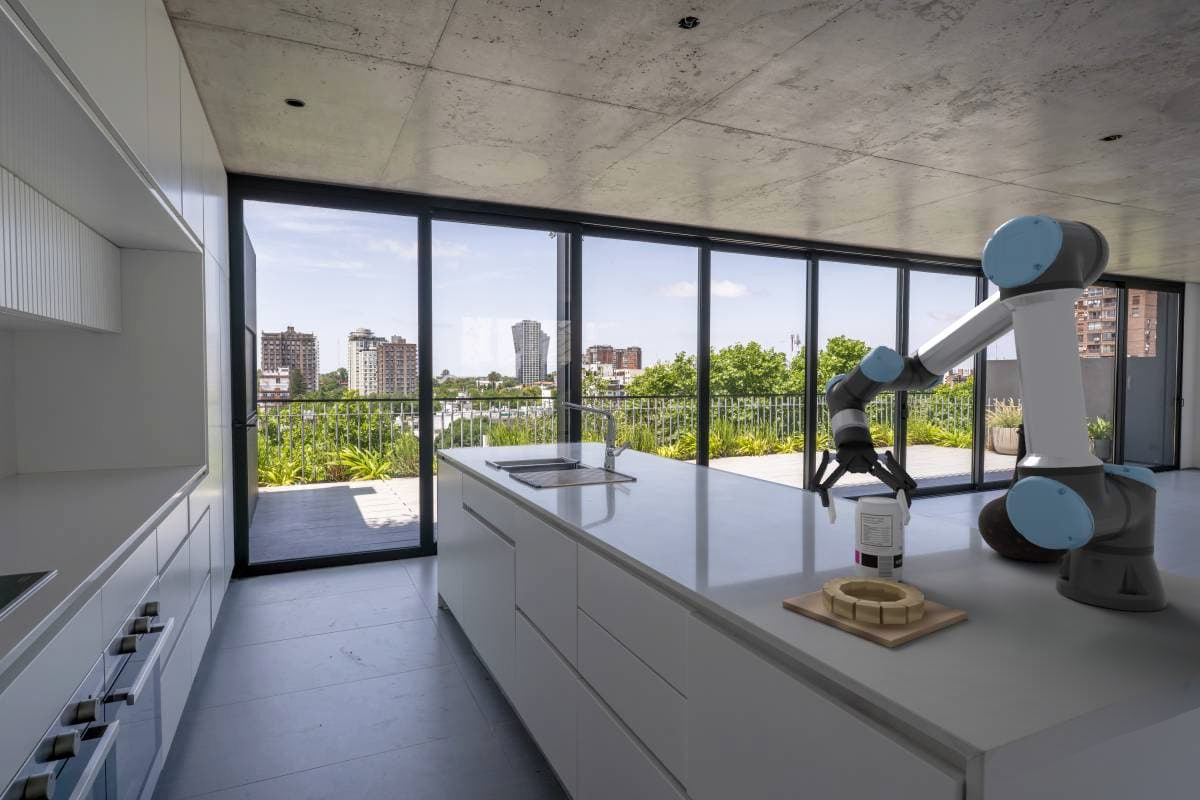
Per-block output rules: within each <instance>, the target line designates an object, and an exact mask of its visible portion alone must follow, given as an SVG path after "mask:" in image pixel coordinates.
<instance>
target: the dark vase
mask: <svg viewBox="0 0 1200 800" xmlns="http://www.w3.org/2000/svg"><path fill="white" fill-rule="evenodd" d="M1018 428H1019V429H1018V430H1016V432H1015V433H1016V434H1017V435H1018V440H1017V442H1018V444H1017V451H1016V459H1015V465H1014V471H1013V475H1012V480H1011V483H1010V485H1009V488H1008V490H1007V492H1006V493H1005V494H1004V495H1002V496H1000V497H998V498H995V499H992V500H991V501H989V502H987V503H986V504H985V505H984V506H983V508H981V510H980V513H979V515H978V520H977V525H978V530H979V533H980V535H981V537H982V539H983V540H984V541H985V543H986V544H987V545H988V547H990V548H991V549H992V550H994V551H995V552H996V553H998V554H1000V555H1003V556H1005V557H1008V558H1013V559H1016V560H1021V561H1029V562H1030V561H1031V562H1044V563H1045V562H1052V561H1056V560H1058V559H1061V558H1064V557H1065V554H1066V552H1067V550H1068V549H1049V548H1044V547H1041V546H1038V545H1036V544H1034V543H1032V542H1030V541H1029V540H1027V539H1026V538H1025V537H1024V536H1023V535H1022V534H1021V533H1019V532H1018V531H1017V530H1016V528H1015V527H1014V526H1013V524H1012V522H1011V520H1010V518H1009V516H1008V512H1007V507H1006V501H1007V496H1008V493H1009V491H1010V490H1012V488H1013V486H1014V485H1015V484H1016V483H1017V482H1018V481H1019V479H1018V469H1017V464H1018V463H1019V462H1020V461H1021V460H1022V459H1023V458H1024V457H1025V456H1026V453H1027V451H1026V442H1025V432H1024V423H1019V424H1018Z"/></svg>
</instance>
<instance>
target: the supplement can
mask: <svg viewBox="0 0 1200 800" xmlns="http://www.w3.org/2000/svg"><path fill="white" fill-rule="evenodd" d="M903 527H904V525H903V509H902V507H901V506H900V504H899V501H898V500H897V498H896V499H895V498H891V497H885V496H864V497H863V496H862V497H859V498H858V500H857V503H856V505H855V506H854V574H855V575H856V577H864V578H865V579H866V577H871V578H879V579H887V581H890V580H892V581H895V582H898V581H901V580H902V579H903V575H904V574H903V569H904V568H903V564H904V563H903V552H904V551H903V548H904V547H903V546H904V545H903V541H904V540H903Z"/></svg>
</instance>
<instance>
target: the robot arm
mask: <svg viewBox="0 0 1200 800" xmlns="http://www.w3.org/2000/svg"><path fill="white" fill-rule="evenodd" d="M1109 258H1110V246H1109V243H1108V240H1107V239H1106V236H1105V235H1104V233H1102V232H1101V231H1100V229H1098V228H1097V227H1095V226H1093V225H1091V224H1089V223H1086V222H1083V221H1076V220H1068V219H1061V218H1060V219H1059V218H1054V217H1051V216H1047V215H1041V214H1040V215H1039V214H1038V215H1037V214H1036V215H1023V216H1017V217H1014V218H1011V219H1009V220H1008V221H1006V222H1005V223H1003V224H1001V225H1000V226H999V227H998V228H996V230H994V232H993V233H992V235H991V236H990V237H989V238H988V240H987V241H986V242H985V245H984V247H983V251H982V255H981V269H982V271H983V273H984V275H985V277H986V279H988V280H989V281H990V282H991V283H992V284H993V285H995V286H997V287H998V291H997V292H995V293H993V294H992V295H991V296H990V297H988V298H987V299H985V300H984V301H983V302H980V303H979V304H978V305H977V306H976V307H974V308H973V309H972V310H970V311H969V312H967V313H966V314H964V315H963V316H962V317H960V318H959V319H958V320H956V321H955V322H954V323H952V324H951V325H949V326H948V327H947V328H945V329H944V330H942V331H941V332H940V333H937V335H935V336H934V337H933V338H931V339H930V340H928V341H927V342H926V343H925V344H923V345H922V346H920V347H919V348H918V349H916V350H915V351H914V352H913V351H912V353H911V354H909V355H905V356H904V355H903V356H902V355H901V354H900V353H898V352H897V351H896V350H895V349H893V348H891V347H887V346H886V345H878V346H875V347H874V348H872V349H871V350H870V351H869V352H868V353H866V354H865V355H864V356H863V357H862V358H861V359H860V360H859V362H858V363H857V364H855V366H854V367H853V368H852V369H851V371H850V372H849V373H840V374H838V375H836V376H833V377H831V378H829V380H828V381H827V382H826V384H825V389H824V390H825V401H826V404H827V408H828V409H827V411H828V413H829V419H830V423H831V430H832V435H833V440H834V441H833V442H834V445H835V446H834V448H835V451H836V452H830V451H829V450H828V449H823V451H822V455H821V462H820V464H819V466H818V468H817V470H816V472H815V474H814V477H813V479H812V480H811V482H810V483H811V484H810V488H809V491H810V492H811V493H817V494H818V496H819V497H820V500H821V501H820V502H821V506H822V507H823V508H827V511H828V512H827V513H828V518H829V524H831V525H832V524H833V525H834V524H835V523H836V520H837V512H836V506H835V500H834V495H833V489H832V487H833V486H835V484H836V483H837V482H838V481H839V480H840V479H841V478H842V477H844V476H845V474H846V473H850V474H851V475H852V474H862V475H863V474H865V475H866V474H867V473H869V475H870V476H873V477H876V478H877V479H878V480H879V481H881V482H882V483H883V484H885V485H887V486H888V488H890V489H891V490H892V491H894V492H895V493H896V500H898V501H899V504H900V506H901V507H902V509H903V526H908V525H909V522H910V520H911V518H912V517H911V514H910V509H911V507H912V503H913V502H912V499H911V498H912V497H911V495H914V494H915V492H916V491H917V488H918V483H917V482H916V481H915V480H914V479H913V478H912V476H911V475H910V474H909V473H908V472H907V471H906V470H905V469H904V468H903V467H902V465H901V464H900V463H899V462H898V461H897V460H896V459H895V458H894V455H893V452H892V450H889V449H886V450H885V452H883V453H881V452H880V453H878V452H877V451H876V450H875V447H874V441H873V438H872V432H871V429H870V428H871V427H870V424H869V420H868V416H867V412H866V406H867V405H868V404H870V403H871V402H872V401H873V400H874V399H875V398H877V396H878V395H880V393H882V392H890V391H891V392H897V391H917V392H921V391H922V392H923V391H926V390H932V389H935V388H936V387H938V386H939V385H940V384H941V382H942V381H943V379H944V377H945V374H947V373H948V372H950V371H951V370H953V369H954V368H956V367H958V366H959V365H960V364H962V363H964V362H965V361H967V360H968V359H970V358H972V357H973V356H974V355H976V354H978V353H979V352H981V351H982V350H984V349H985V348H987V347H988V346H990V345H991V344H993V343H994V342H996V341H997V340H999V339H1001V338H1002V337H1003V336H1005V335H1007V334H1009V333H1010V332H1012V331H1013V337H1014V345H1015V353H1016V354H1015V355H1016V362H1017V363H1016V365H1017V374H1018V381H1019V391H1020V403H1021V411H1022V420H1023V421H1022V422H1023V424H1024V432H1025V442H1026V451H1027V453H1026V456H1025V457H1024V458H1023V459H1022V460H1021V461H1020V462H1019V463H1018V464H1017V469H1018V479H1019V481H1018V482H1017V483H1016V484H1015V485H1014V486H1013V488H1012V490H1010V491H1009V493H1008V496H1007V501H1006V507H1007V512H1008V516H1009V518H1010V520H1011V522H1012V524H1013V526H1014V527H1015V528H1016V530H1017V531H1018V532H1019V533H1021V534H1022V535H1023V536H1024V537H1025V538H1026V539H1027V540H1029V541H1030V542H1032V543H1034V544H1036V545H1038V546H1041V547H1044V548H1049V549H1068V550H1067V552H1066V554H1065V555H1064V556H1063V559H1062V562H1061V564H1060V566H1059V569H1058V571H1057V573H1056V575H1055V576H1056V577H1055V589H1056V591H1057V593H1060V594H1061V595H1062V596H1065V597H1067V598H1070V599H1072V600H1074V601H1078V602H1081V603H1084V604H1088V605H1092V606H1098V607H1101V608H1107V609H1114V610H1119V611H1121V610H1122V611H1130V612H1132V611H1133V612H1153V611H1161V610H1163V609H1165V608H1166V607H1167V604H1168V603H1167V598H1168V593H1167V589H1166V586H1165V584H1164V581H1163V579H1162V576H1161V574H1160V570H1159V568H1158V565H1157V563H1156V560H1155V534H1156V533H1155V532H1156V503H1157V502H1156V501H1157V493H1158V488H1157V486H1156V482H1157V481H1156V475H1155V472H1154V471H1153V470H1151V469H1149V468H1148V467H1138V466H1133V465H1131V466H1130V465H1123V464H1122V465H1121V464H1113V463H1104V461H1103V460H1101V459H1100V458H1099V457H1098V456H1096V455H1094V454H1093V453H1092V451H1091V447H1090V440H1089V431H1088V420H1087V412H1086V403H1085V394H1084V384H1083V376H1082V365H1081V356H1080V348H1079V338H1078V331H1077V329H1078V328H1077V321H1076V312H1075V311H1076V310H1075V309H1076V308H1075V303H1076V302H1077V301H1078V300H1079V299H1080V298H1081V297H1082V295H1084V293H1085V290H1086V289H1088V288H1089V287H1090V286H1091V285H1093V284H1094V283H1095V282H1097V280H1098V279H1099V278H1100V277H1101V276H1102V274H1103V273H1104V272H1105V269H1106V268H1107V265H1108V263H1109V260H1110V259H1109ZM834 460H835V462H836V463H837V464H838V465H837V467H836V468H835V469H834V470H833V472H832V473H831V474H829V476H828V477H827V478H826V479H825V480H824V481H823V483H821V481H822V479H823V477H824V475H825V473H826V471H827V469H828V466H829V465H830V464H832V463H833V461H834ZM879 461H880V462H881V463H880V462H879ZM883 465H884V466H885V467H886V468H887V469H886V468H885V467H883Z"/></svg>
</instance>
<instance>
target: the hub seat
mask: <svg viewBox="0 0 1200 800" xmlns="http://www.w3.org/2000/svg"><path fill="white" fill-rule="evenodd" d="M781 602H782V603H781V604H782V605H781V606H782V607H783V608H785V609H788V610H791V611H793V612H796V613H798V614H801V615H804V616H807V617H808V618H812V619H814V620H817V621H819V622H821V623H824V624H827V625H829V626H833V627H835V628H838V629H840V630H843V631H846V632H847V633H850V634H854V635H856V636H858V637H861V638H864V639H866V640H869V641H872V642H873V643H876V644H877V643H878V644H880V645H882V646H885V647H887V648H890V649H891V648H894V647H896V646H900V645H901V644H904V643H907V642H909V641H912V640H915V639H917V638H921V637H922V636H925V635H929V634H930V633H933V632H936V631H938V630H941V629H943V628H946V627H949V626H952V625H954V624H957V623H959V622H961V621H964V619H965V620H967V619H968V611H965V610H961V609H957V608H954V607H951V606H948V605H945V604H941V603H939V602H934V601H931V600H928V599H925V594H924V593H923V592H922V591H920V590H918V589H916V588H915V587H913V586H910V585H909V584H905V583H902V582H895V581H892V580H890V581H887V579H879V578H871V577H866V579H865V578H864V577H858V576H844V577H837V578H834V579H833V578H832V579H830V580H828V581H826V582H824V584H823V587H822V589H819V590H816V591H813V592H808V593H805V594H802V595H798V596H795V597H791V598H787V599H784V600H782V601H781ZM951 624H952V625H951Z"/></svg>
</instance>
